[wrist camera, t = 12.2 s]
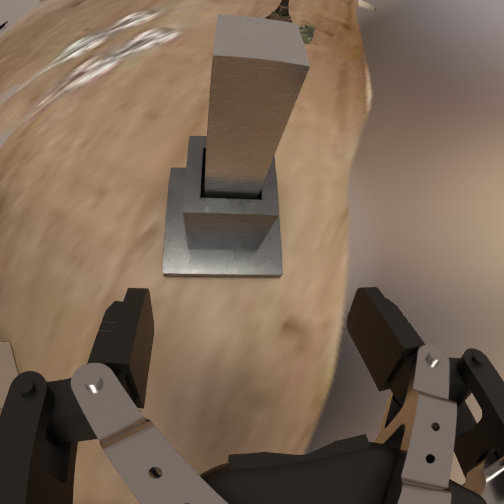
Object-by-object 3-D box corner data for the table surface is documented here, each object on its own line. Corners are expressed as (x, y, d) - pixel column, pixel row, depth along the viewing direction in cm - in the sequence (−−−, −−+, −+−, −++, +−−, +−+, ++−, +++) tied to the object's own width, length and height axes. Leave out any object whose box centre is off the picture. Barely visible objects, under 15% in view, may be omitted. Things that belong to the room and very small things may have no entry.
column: (204, 213, 25) (212, 55, 10) (205, 173, 26) (217, 14, 11) (250, 215, 26) (310, 66, 10) (249, 175, 27) (297, 23, 12)
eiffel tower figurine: (233, 28, 45) (243, -28, 32) (247, 10, 48) (257, -39, 35) (309, 49, 46) (330, -5, 33) (314, 28, 49) (333, -18, 36)
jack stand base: (164, 276, 30) (145, 245, 20) (171, 174, 33) (164, 114, 23) (279, 277, 32) (313, 248, 22) (273, 178, 35) (298, 122, 25)
